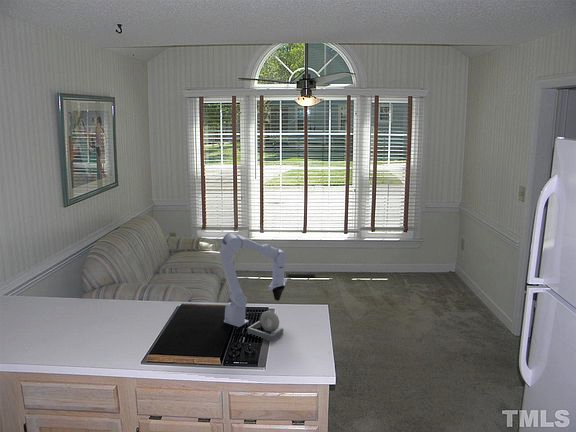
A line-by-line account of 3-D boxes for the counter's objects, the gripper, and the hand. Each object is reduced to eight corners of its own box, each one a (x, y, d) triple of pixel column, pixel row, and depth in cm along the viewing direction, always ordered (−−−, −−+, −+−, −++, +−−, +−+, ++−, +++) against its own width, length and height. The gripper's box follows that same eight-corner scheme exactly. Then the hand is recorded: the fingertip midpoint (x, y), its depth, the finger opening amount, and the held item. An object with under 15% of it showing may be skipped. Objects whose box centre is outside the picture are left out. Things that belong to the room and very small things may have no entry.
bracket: (247, 333, 235) (247, 327, 234) (258, 326, 242) (258, 320, 242) (272, 342, 228) (272, 336, 227) (283, 334, 236) (283, 328, 235)
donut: (280, 332, 237) (281, 312, 235) (276, 335, 234) (277, 315, 232) (262, 327, 242) (263, 307, 240) (258, 329, 239) (259, 309, 237)
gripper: (277, 279, 240) (276, 306, 243) (293, 271, 252) (291, 297, 255) (265, 276, 243) (263, 303, 246) (280, 268, 255) (279, 294, 258)
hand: (277, 299), depth 251 cm, fingers closed
